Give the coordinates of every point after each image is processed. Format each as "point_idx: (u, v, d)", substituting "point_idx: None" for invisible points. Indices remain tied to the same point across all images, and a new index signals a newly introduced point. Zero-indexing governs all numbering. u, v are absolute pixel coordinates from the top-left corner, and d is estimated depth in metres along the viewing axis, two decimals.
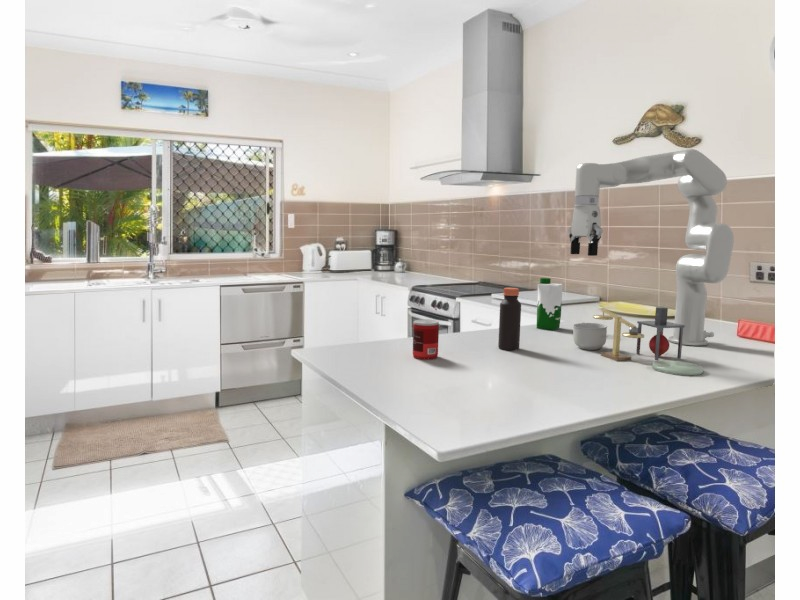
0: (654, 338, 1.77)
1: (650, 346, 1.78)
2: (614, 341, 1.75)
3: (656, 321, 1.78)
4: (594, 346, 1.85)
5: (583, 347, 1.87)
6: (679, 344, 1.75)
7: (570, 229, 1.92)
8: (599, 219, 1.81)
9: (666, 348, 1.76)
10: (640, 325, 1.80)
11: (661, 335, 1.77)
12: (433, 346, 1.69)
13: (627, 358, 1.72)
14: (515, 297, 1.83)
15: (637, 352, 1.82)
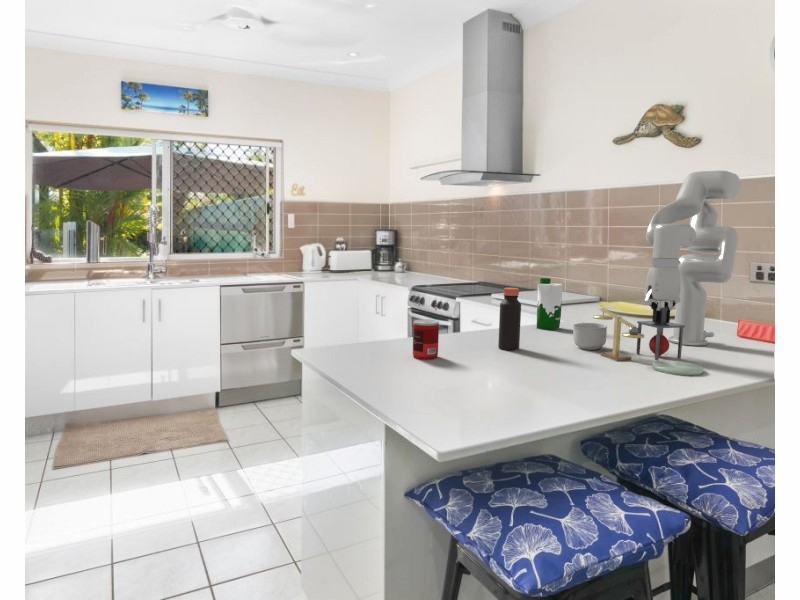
0: (654, 338, 1.77)
1: (650, 346, 1.78)
2: (614, 341, 1.75)
3: None
4: (594, 346, 1.85)
5: (583, 347, 1.87)
6: (679, 344, 1.75)
7: (649, 299, 1.75)
8: None
9: (666, 348, 1.76)
10: (640, 325, 1.80)
11: (661, 335, 1.77)
12: (433, 346, 1.69)
13: (627, 358, 1.72)
14: (515, 297, 1.83)
15: (637, 352, 1.82)
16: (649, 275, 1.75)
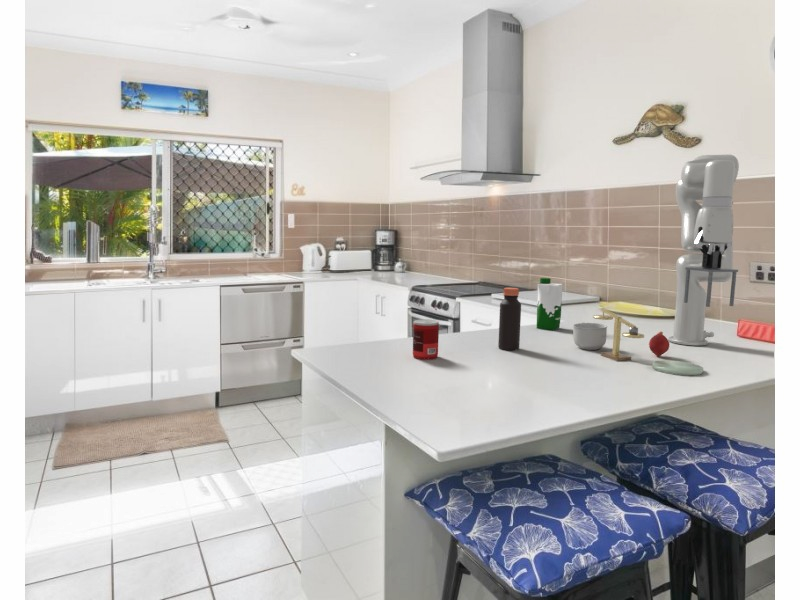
0: (654, 338, 1.77)
1: (650, 346, 1.78)
2: (614, 341, 1.75)
3: None
4: (594, 346, 1.85)
5: (583, 347, 1.87)
6: (732, 290, 1.63)
7: (700, 241, 1.63)
8: None
9: (666, 348, 1.76)
10: (688, 271, 1.68)
11: (661, 335, 1.77)
12: (433, 346, 1.69)
13: (627, 358, 1.72)
14: (515, 297, 1.83)
15: (685, 300, 1.70)
16: (699, 216, 1.63)
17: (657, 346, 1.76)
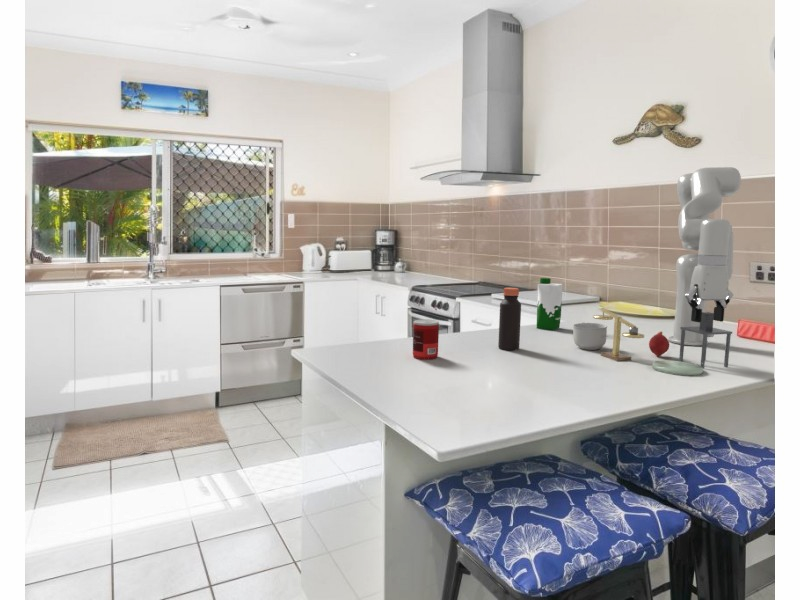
0: (654, 338, 1.77)
1: (650, 346, 1.78)
2: (614, 341, 1.75)
3: (701, 327, 1.68)
4: (594, 346, 1.85)
5: (583, 347, 1.87)
6: (726, 351, 1.66)
7: (691, 294, 1.64)
8: None
9: (666, 348, 1.76)
10: (683, 331, 1.71)
11: (661, 335, 1.77)
12: (433, 346, 1.69)
13: (627, 358, 1.72)
14: (515, 297, 1.83)
15: (680, 359, 1.72)
16: (695, 273, 1.65)
17: (657, 346, 1.76)
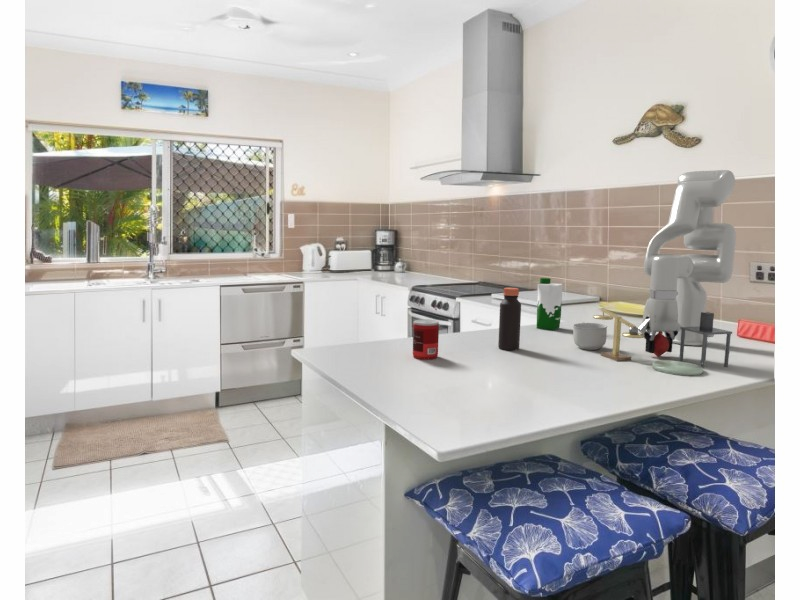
0: (654, 338, 1.77)
1: None
2: (614, 341, 1.75)
3: (701, 327, 1.68)
4: (594, 346, 1.85)
5: (583, 347, 1.87)
6: (726, 351, 1.66)
7: (644, 327, 1.75)
8: None
9: (666, 348, 1.76)
10: (683, 331, 1.71)
11: (661, 335, 1.77)
12: (433, 346, 1.69)
13: (627, 358, 1.72)
14: (515, 297, 1.83)
15: (680, 359, 1.72)
16: (647, 306, 1.76)
17: (657, 346, 1.76)
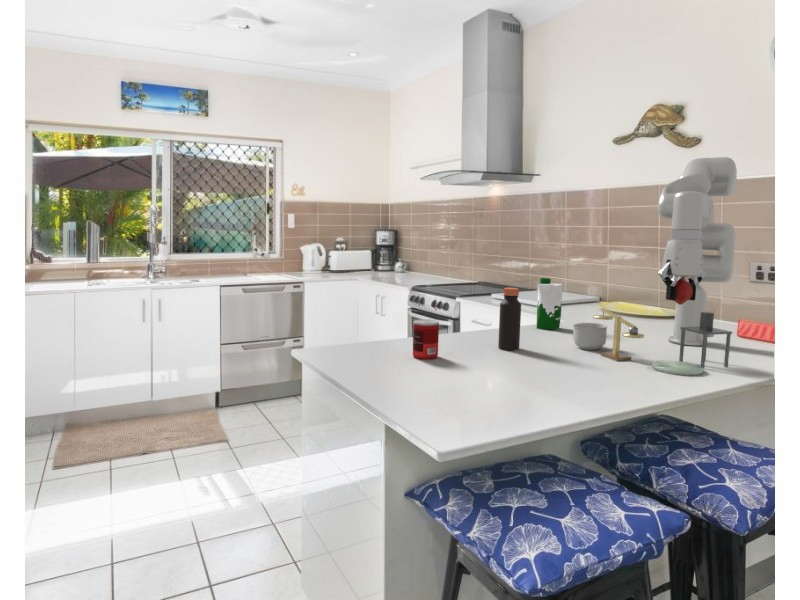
0: (676, 284, 1.60)
1: None
2: (614, 341, 1.75)
3: (701, 327, 1.68)
4: (594, 346, 1.85)
5: (583, 347, 1.87)
6: (726, 351, 1.66)
7: (664, 271, 1.58)
8: None
9: (689, 294, 1.58)
10: (683, 331, 1.71)
11: (683, 280, 1.59)
12: (433, 346, 1.69)
13: (627, 358, 1.72)
14: (515, 297, 1.83)
15: (680, 359, 1.72)
16: (668, 248, 1.59)
17: (679, 293, 1.58)
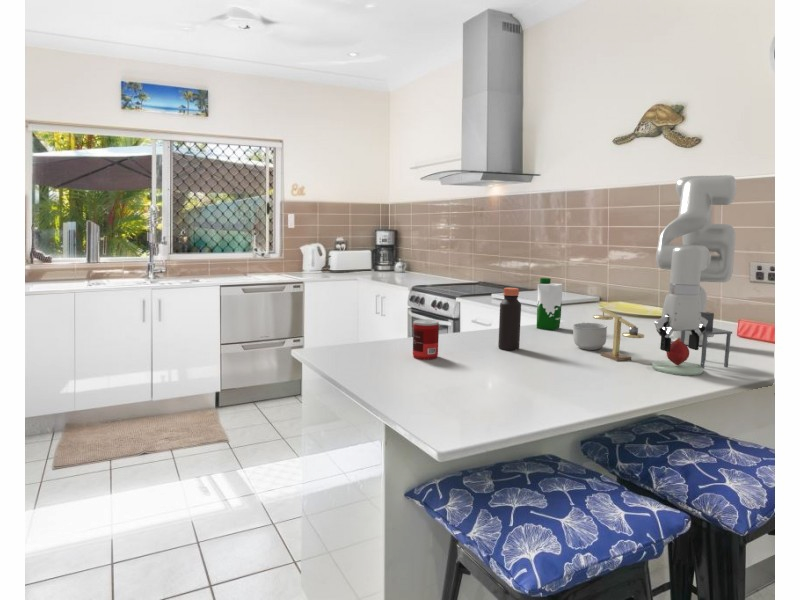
0: (672, 346, 1.60)
1: (668, 355, 1.61)
2: (614, 341, 1.75)
3: None
4: (594, 346, 1.85)
5: (583, 347, 1.87)
6: (726, 351, 1.66)
7: (661, 322, 1.58)
8: None
9: (686, 356, 1.59)
10: (683, 331, 1.71)
11: (680, 342, 1.59)
12: (433, 346, 1.69)
13: (627, 358, 1.72)
14: (515, 297, 1.83)
15: None
16: (666, 303, 1.59)
17: (676, 356, 1.59)
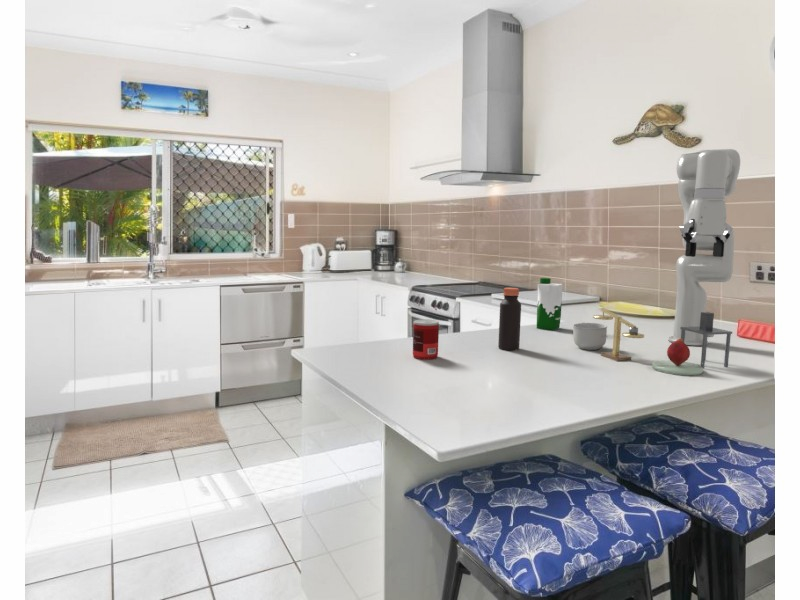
0: (673, 345, 1.60)
1: (668, 354, 1.61)
2: (614, 341, 1.75)
3: (701, 327, 1.68)
4: (594, 346, 1.85)
5: (583, 347, 1.87)
6: (726, 351, 1.66)
7: (686, 227, 1.58)
8: None
9: (686, 356, 1.59)
10: (683, 331, 1.71)
11: (681, 342, 1.60)
12: (433, 346, 1.69)
13: (627, 358, 1.72)
14: (515, 297, 1.83)
15: None
16: (692, 208, 1.60)
17: (676, 355, 1.59)
